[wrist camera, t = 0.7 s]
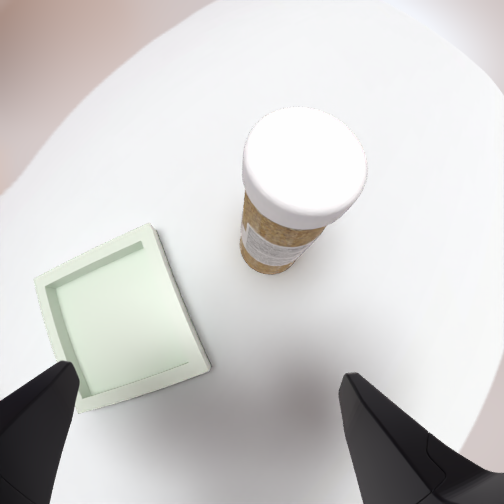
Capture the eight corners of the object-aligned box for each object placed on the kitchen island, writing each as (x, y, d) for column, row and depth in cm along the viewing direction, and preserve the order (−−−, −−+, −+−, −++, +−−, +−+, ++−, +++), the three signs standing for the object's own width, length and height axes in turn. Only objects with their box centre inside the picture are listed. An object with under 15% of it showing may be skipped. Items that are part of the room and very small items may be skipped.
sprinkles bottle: (259, 207, 23) (285, 85, 10) (309, 238, 23) (387, 144, 10) (227, 254, 22) (215, 165, 9) (279, 288, 22) (338, 240, 9)
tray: (211, 366, 21) (208, 371, 18) (90, 407, 19) (78, 413, 17) (157, 231, 23) (149, 222, 20) (47, 282, 21) (33, 278, 19)
